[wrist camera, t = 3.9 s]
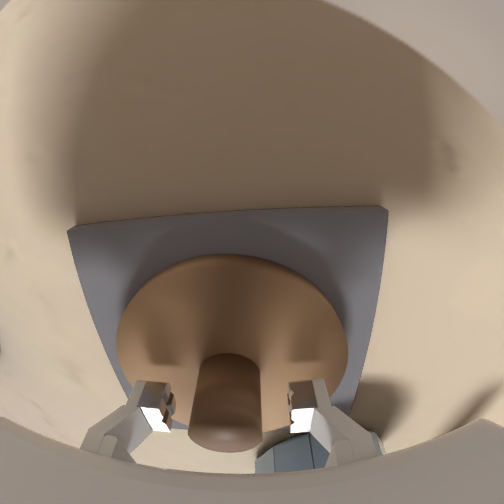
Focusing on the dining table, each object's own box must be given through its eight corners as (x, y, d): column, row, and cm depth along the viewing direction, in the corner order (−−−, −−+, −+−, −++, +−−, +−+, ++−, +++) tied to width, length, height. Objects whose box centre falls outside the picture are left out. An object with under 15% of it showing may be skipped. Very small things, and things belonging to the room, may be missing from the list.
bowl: (394, 413, 17) (414, 463, 12) (362, 468, 21) (372, 505, 16) (252, 433, 17) (252, 492, 12) (258, 482, 21) (259, 522, 16)
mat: (380, 206, 11) (388, 210, 11) (344, 412, 16) (346, 421, 16) (75, 225, 12) (66, 230, 11) (145, 416, 17) (142, 424, 16)
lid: (352, 245, 11) (404, 306, 7) (328, 411, 15) (343, 473, 11) (98, 261, 11) (39, 318, 7) (156, 415, 15) (141, 474, 11)
